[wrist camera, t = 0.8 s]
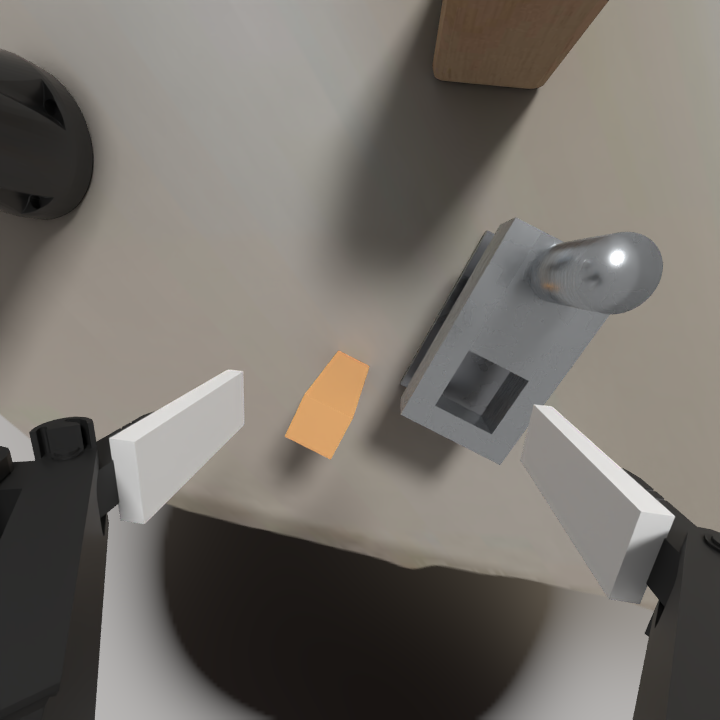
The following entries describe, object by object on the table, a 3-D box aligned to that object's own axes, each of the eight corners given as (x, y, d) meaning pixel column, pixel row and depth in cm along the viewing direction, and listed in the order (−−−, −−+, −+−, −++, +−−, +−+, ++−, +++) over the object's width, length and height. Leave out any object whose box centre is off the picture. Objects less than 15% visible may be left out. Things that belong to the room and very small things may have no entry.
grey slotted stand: (400, 382, 38) (400, 457, 23) (486, 229, 33) (562, 192, 18) (477, 421, 38) (529, 521, 23) (575, 275, 33) (727, 278, 18)
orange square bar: (324, 379, 39) (284, 436, 26) (338, 350, 38) (304, 393, 25) (354, 394, 39) (330, 459, 26) (369, 366, 38) (352, 418, 25)
